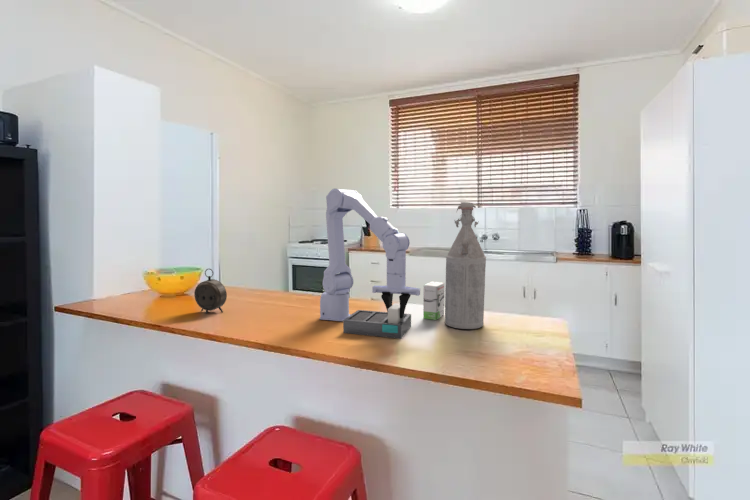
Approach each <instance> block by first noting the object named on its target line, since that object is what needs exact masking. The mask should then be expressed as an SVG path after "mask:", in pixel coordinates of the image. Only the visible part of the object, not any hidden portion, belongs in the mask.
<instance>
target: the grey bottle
mask: <svg viewBox="0 0 750 500" xmlns="http://www.w3.org/2000/svg"><path fill="white" fill-rule="evenodd" d="M474 209H477V206H476V205H474V202H470V201H469V202H468V201H460V205H458V206H457V208H456V212H458V211H459V210H461V215H460V216H459V217H458V218H457V220H454V224H455V226H456V228H459V227H460V226H459V225H460V223H459V222H461V228H460V229H459V232H458V233H457V234H456V236H455V240H454V242H453V243H452V245H451V247H450V249H449V251H448V253H447V255H446V256H445V289H444V323H445V324H446V325H447V326H448V327H450V328H455V329H462V330H475V329H479V328H483V326H484V318H485V317H484V316H485V315H484V313H485V294H486V293H485V288H486V263H487V256H486V255H485V253H484V251H483V249H482V246H481V244H480V242H479V240H478V238H477V236H476V234H475V232H474V229H473V227H472V225H473V223H474V228H476V227H477V225H478V224H479V221H476V219H475V217H474V216H473V211H474Z"/></svg>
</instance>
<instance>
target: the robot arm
mask: <svg viewBox="0 0 750 500" xmlns="http://www.w3.org/2000/svg"><path fill="white" fill-rule="evenodd" d="M325 198H326V201H325V202H326V212H325V218H326V219H325V221H326V231H327V232H326V234H327V235H326V236H327V248H328V250H327V251H328V263H329V265H328V266H327V267H326V268H325V270H324V271H323V278H322V288H323V290H324V292H322V294H321V296H320V299H319V309H320V310H319V314H320V316H319V320H323V321H334V322H335V321H336V322H343V320H344V319H346V318H347V317H349V316H350V315H351V314H352V313H350V292H351V289H352V288H353V286H354V277H353V276H352V270H351V268H350V267H349V266H348V265H347V264H346V252H345V237H344V236H345V235H344V225H343V224H344V223H343V219H344V218H345V216H346V215H347V214H348V213H350V212H351V211H354V212H356V213H357V214H358V215H359V216H360V217H361V218H362V219H364V220H365V221H366V222H367V223H368V224H369V230H370V231H371V232H372V233H373V234H374V235H375V236H376V237H377V239H378V240H379V241H381V242H382V248H383V250H384V251H385V257H386V285H373V286H372V290H371V291H372V292H371V293H373V294H375V293H377V294H378V293H380V294H381V295H380V298H381V300H382V301H383V303H384V306H385V309H386V311H387V312H388V308H390V307H391V306H392V305H393V299H394V297H393V296H394V294H397V295H399V296H398V298H399V304H400V318H403V317H404V314H405V310H406V307H407V304H408V302H409V300H410V297H411V296H418V297H419V296H420V295H421V288H420V287H411V286H406V281H407V280H406V279H407V278H406V273H407V272H406V270H407V269H406V267H407V265H406V261H407V260H406V259H407V257H406V256H407V255H406V253H407V250H408V249H409V247H410V239H409V237H408V235H407V234H406V233H405V232H399V229H398V228H397V227H395V226H393V225H392V224H391V223H390V222H389V219H388V217H386V216H385V217H384V216H382V215H381V216H378V215H377V214H376V213H375V212H374V211H373V209H372V208H371V207H370V206H369V204H367V202H366V201H365V200H364V199H363V196H362V195H361V194H360V193H359V192H358V191H357V190H355V189H341V188H332V189H331V190H330V191H329V192H328V193H327V195H326V197H325Z"/></svg>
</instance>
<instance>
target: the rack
mask: <svg viewBox="0 0 750 500" xmlns="http://www.w3.org/2000/svg"><path fill="white" fill-rule="evenodd" d="M350 314H351V315H350V316H349V317H347V318H346V319H344V320H343V321H342V323H343V324H342V325H343V326H342V328H343V329H342V330H343V331H342V333H343V334H351V335H360V336H370V337H379V338H380V337H381V338H389V339H390V338H391V339H397V340H398V339H400V340H401V339H403V337H404V336H405V335H406V334H407V332H408V331H409V330H410V328H411V327H412V314H411V313H404V319H403V320H402V321H401V322H400V323H399V324H393V323H388V312H386V311H377V310H366V309H357V310H356V311H354V312H353V313H350Z"/></svg>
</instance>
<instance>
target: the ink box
mask: <svg viewBox="0 0 750 500" xmlns="http://www.w3.org/2000/svg"><path fill="white" fill-rule="evenodd" d="M445 285H446V282H441V281H432V280H431V281H430V282H427V283H425V284H424V285H423V303H422V304H423V309H422V310H423V316H422V317H423V319H424V320H432V321H433V320H434V321H437V320H438V319H440V318H441V317H443V316H445ZM442 315H443V316H442Z"/></svg>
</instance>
